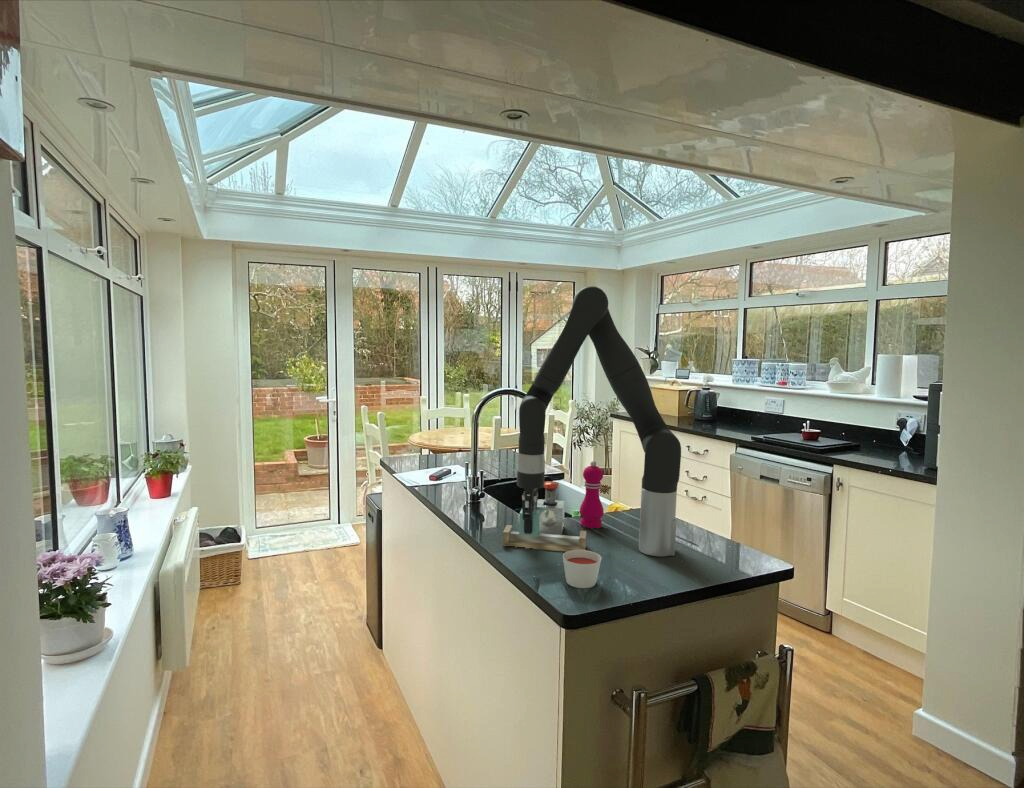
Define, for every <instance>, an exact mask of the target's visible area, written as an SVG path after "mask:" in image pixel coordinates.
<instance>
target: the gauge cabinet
mask: <svg viewBox="0 0 1024 788" xmlns="http://www.w3.org/2000/svg"><path fill="white" fill-rule="evenodd" d="M565 502H566V501H565V500H557V499H555V506H546V505H545V498H544V499H542V498H541V499H539V498H537V509H536V510H540V515H539V533H540V534H554V535H563V533H562V532H564V528H565V505H566V503H565ZM563 527H564V528H563Z"/></svg>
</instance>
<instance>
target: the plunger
mask: <svg viewBox="0 0 1024 788" xmlns="http://www.w3.org/2000/svg"><path fill="white" fill-rule="evenodd" d="M542 488H544V489H545V492H544V493H545V494H544V500H545V505H546V506H555V500H556V491H557V489H558V488H559V482H557V481H552V480H551V481H550V480H549V481H548V480H546V481H544V486H543V487H542Z"/></svg>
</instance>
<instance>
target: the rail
mask: <svg viewBox="0 0 1024 788" xmlns="http://www.w3.org/2000/svg"><path fill="white" fill-rule="evenodd" d="M505 546H515V547H514V548H517V547H525V548H524V549H529V548H533V549H532V550H542V551H544V550H545V551H557V552H567V551H571V550H586V546H587V530H580V531H579V536H577V535H564V534H562V535H553V534H540V533H538V535H537V536H531V535H519V531H515V530H514V531H513V525H509V524H506V525H505V527H504V530H503V531H502V547H505Z"/></svg>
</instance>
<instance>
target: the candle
mask: <svg viewBox="0 0 1024 788" xmlns="http://www.w3.org/2000/svg"><path fill="white" fill-rule="evenodd" d="M562 561H563V568H564V575H565V581H566V583H567V584H568V586H571V587H572V588H577V589H591V588H593V587H594V586H595V585H596V583H597V580H598V575H599V570H600V567H601V563H602V556H601V555H600V554H599V553H596V552H595V551H593V550H592V551H590V550H588V549H587V550H586V549H585V550H571V551H567V552H566V551H564V553H562Z"/></svg>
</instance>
